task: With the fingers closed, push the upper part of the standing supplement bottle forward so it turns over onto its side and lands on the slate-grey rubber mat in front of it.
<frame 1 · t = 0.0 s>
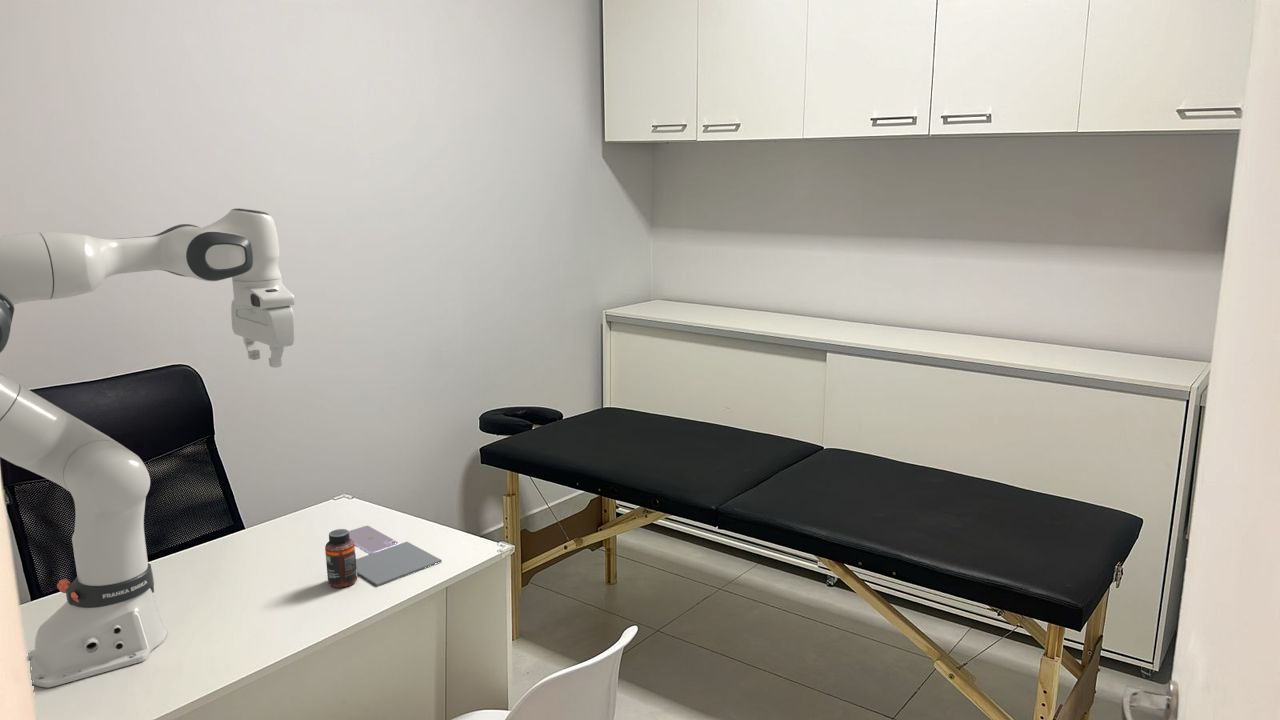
hand: (264, 362, 174), 48 cm above the table, fingers open, 8 cm apart
supplement bottle: (342, 583, 186), on the table
mobile phone: (369, 542, 207), on the table
mat: (393, 563, 195), on the table
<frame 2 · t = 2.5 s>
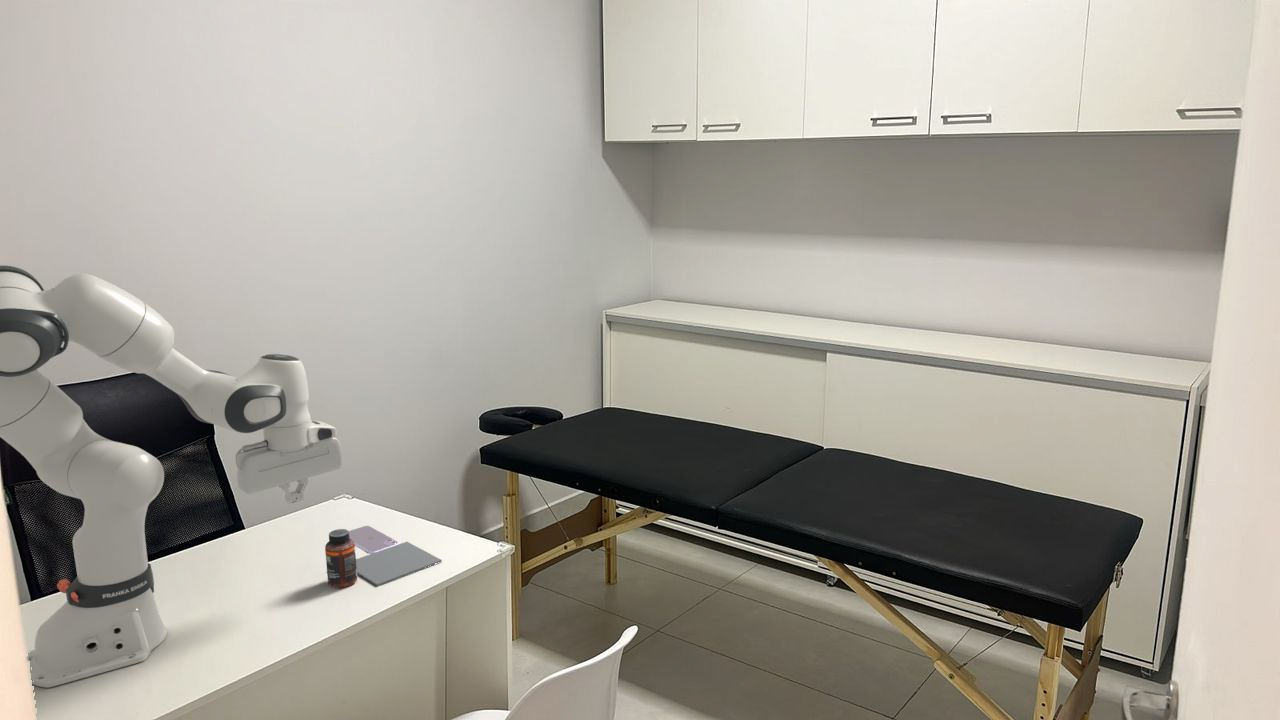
hand: (294, 501, 176), 21 cm above the table, fingers closed
nothing on the table moved.
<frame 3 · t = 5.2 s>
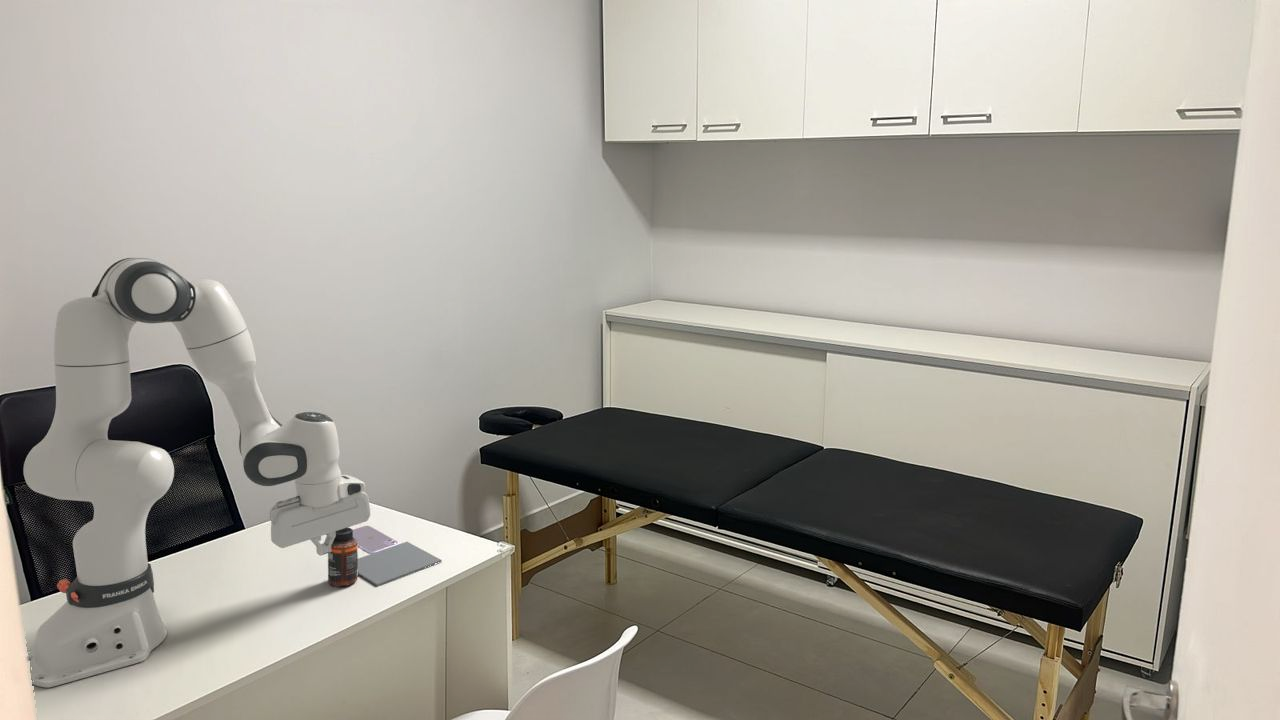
hand: (324, 553, 182), 8 cm above the table, fingers closed
supplement bottle: (342, 582, 186), on the table, touching gripper
everything else where it was.
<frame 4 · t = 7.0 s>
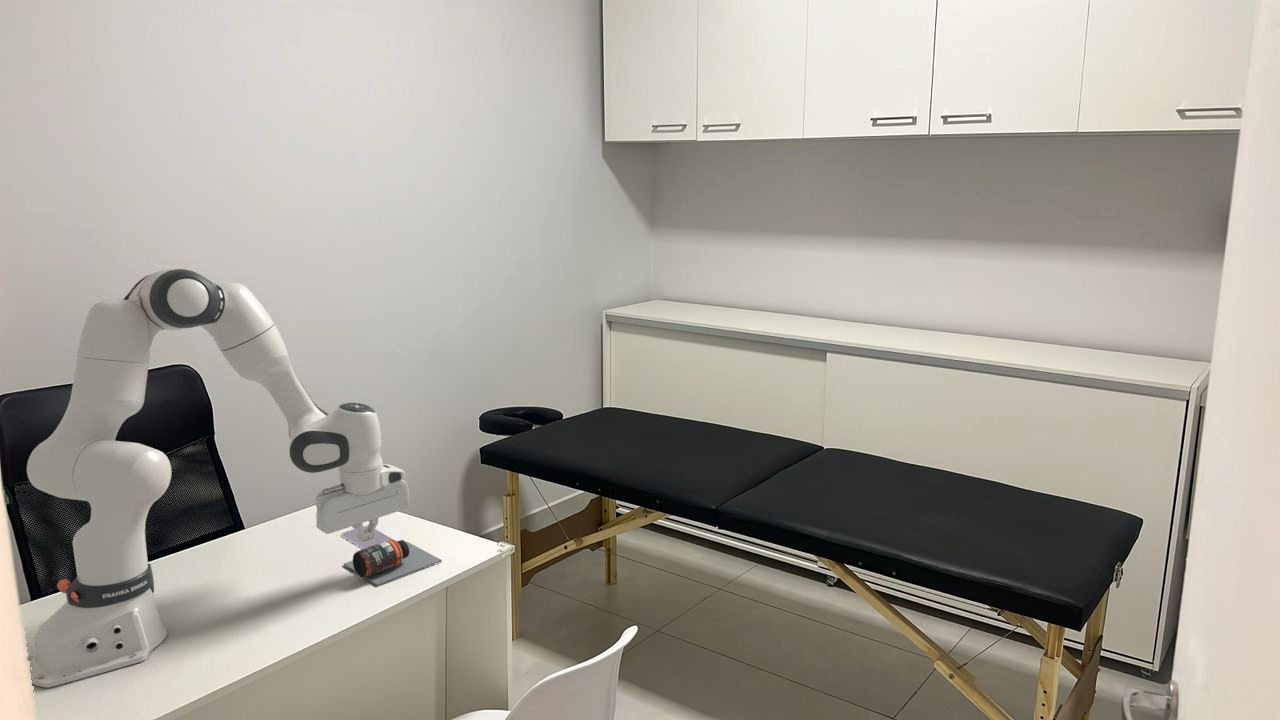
hand: (366, 539, 189), 8 cm above the table, fingers closed
supplement bottle: (358, 565, 186), point 3 cm above the table, touching mat
everything else where it was.
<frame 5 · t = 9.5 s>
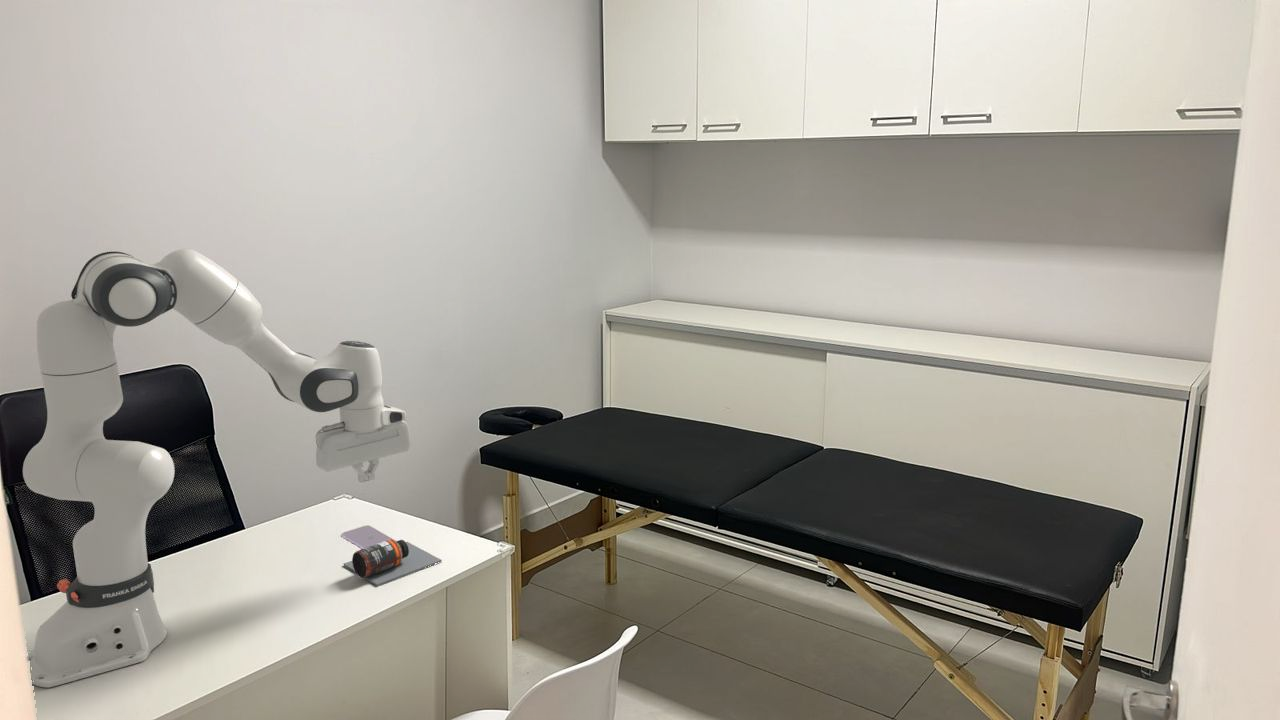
hand: (366, 480, 187), 21 cm above the table, fingers closed
nothing on the table moved.
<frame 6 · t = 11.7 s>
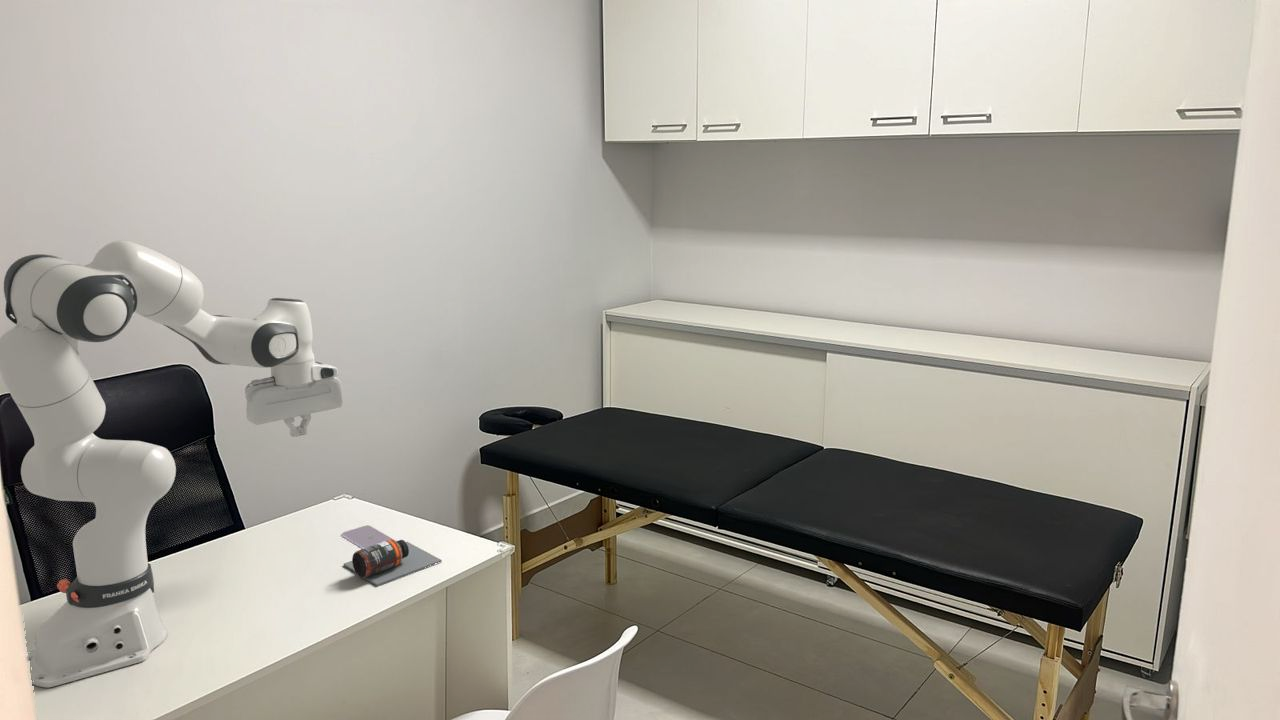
hand: (298, 435, 190), 29 cm above the table, fingers closed
nothing on the table moved.
at the end: supplement bottle tilted 90°; supplement bottle inside the target area (5.6 cm from its centre), point 3.5 cm above the table; the gripper is holding nothing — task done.
